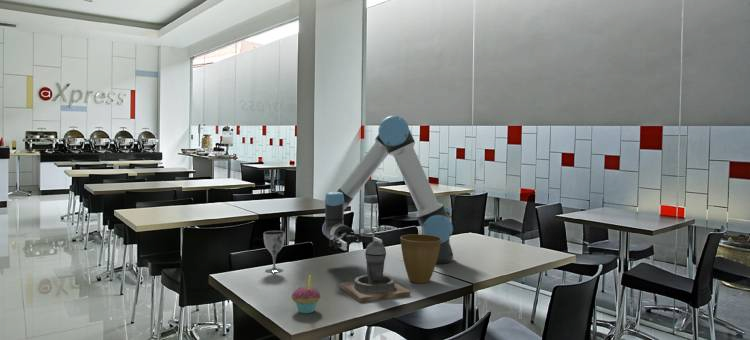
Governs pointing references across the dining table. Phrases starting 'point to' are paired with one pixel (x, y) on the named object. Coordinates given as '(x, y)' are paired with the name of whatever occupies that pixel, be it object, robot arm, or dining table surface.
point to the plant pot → (420, 256)
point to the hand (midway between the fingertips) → (363, 245)
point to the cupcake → (306, 298)
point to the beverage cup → (375, 261)
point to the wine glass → (274, 246)
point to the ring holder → (374, 289)
